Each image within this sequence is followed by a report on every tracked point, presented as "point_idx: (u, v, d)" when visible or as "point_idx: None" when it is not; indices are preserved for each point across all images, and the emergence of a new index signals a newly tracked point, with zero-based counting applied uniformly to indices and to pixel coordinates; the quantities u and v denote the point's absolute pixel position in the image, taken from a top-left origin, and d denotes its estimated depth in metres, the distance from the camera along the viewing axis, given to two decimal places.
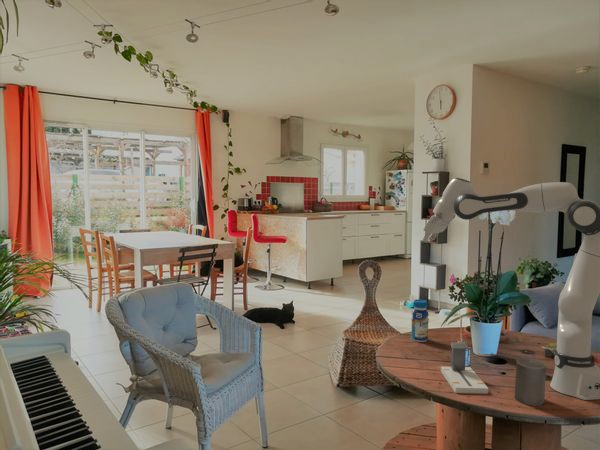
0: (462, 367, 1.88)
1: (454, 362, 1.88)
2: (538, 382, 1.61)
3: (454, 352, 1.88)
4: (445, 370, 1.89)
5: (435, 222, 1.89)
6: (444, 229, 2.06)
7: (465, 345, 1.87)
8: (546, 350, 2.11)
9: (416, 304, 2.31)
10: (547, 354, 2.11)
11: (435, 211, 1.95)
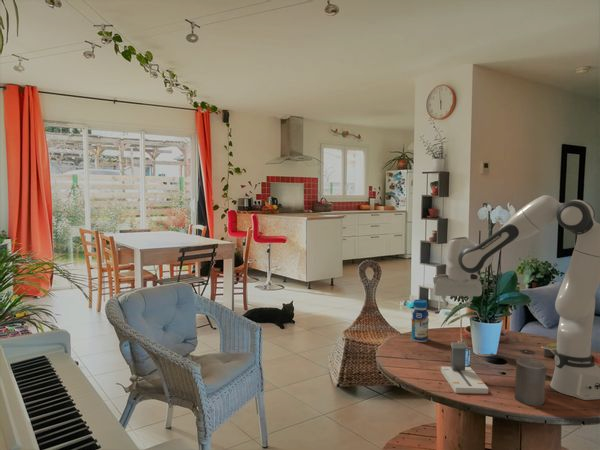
0: (462, 367, 1.88)
1: (454, 362, 1.88)
2: (538, 382, 1.61)
3: (454, 352, 1.88)
4: (445, 370, 1.89)
5: (436, 283, 2.00)
6: (479, 293, 1.99)
7: (465, 345, 1.87)
8: (546, 350, 2.11)
9: (416, 304, 2.31)
10: (547, 354, 2.11)
11: None
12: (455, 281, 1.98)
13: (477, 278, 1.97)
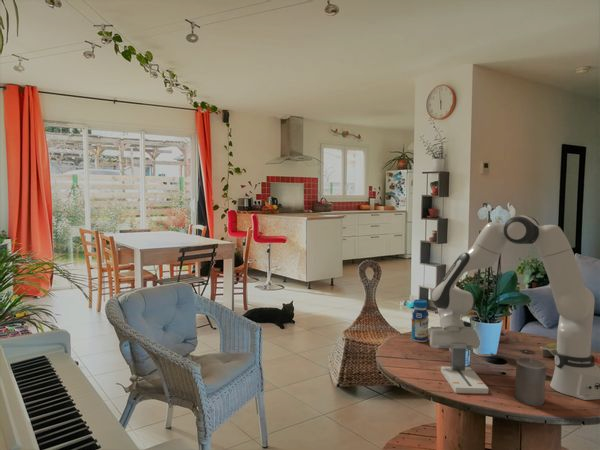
0: (462, 367, 1.88)
1: (454, 362, 1.88)
2: (538, 382, 1.61)
3: (454, 352, 1.88)
4: (445, 370, 1.89)
5: (430, 333, 1.97)
6: (477, 341, 1.93)
7: (465, 345, 1.87)
8: (544, 350, 2.10)
9: (416, 304, 2.31)
10: (545, 354, 2.11)
11: None
12: (449, 329, 1.96)
13: (471, 326, 1.96)
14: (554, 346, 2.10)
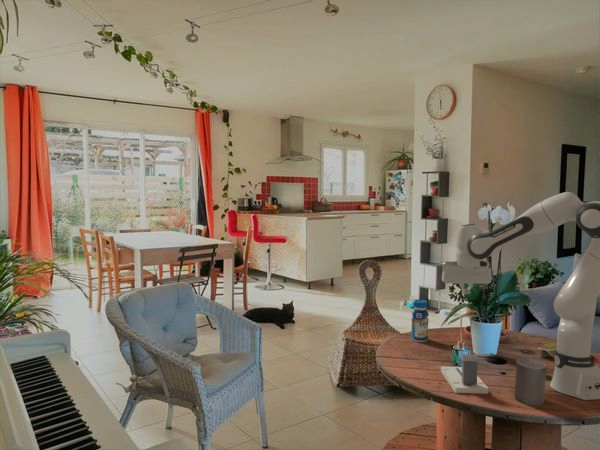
0: (474, 381, 1.74)
1: (465, 376, 1.74)
2: (538, 382, 1.61)
3: (465, 365, 1.74)
4: (445, 370, 1.89)
5: (444, 270, 1.97)
6: (488, 280, 1.96)
7: (477, 358, 1.73)
8: (542, 351, 2.10)
9: (416, 304, 2.31)
10: (543, 355, 2.10)
11: None
12: (464, 268, 1.96)
13: (486, 265, 1.95)
14: (552, 346, 2.09)
